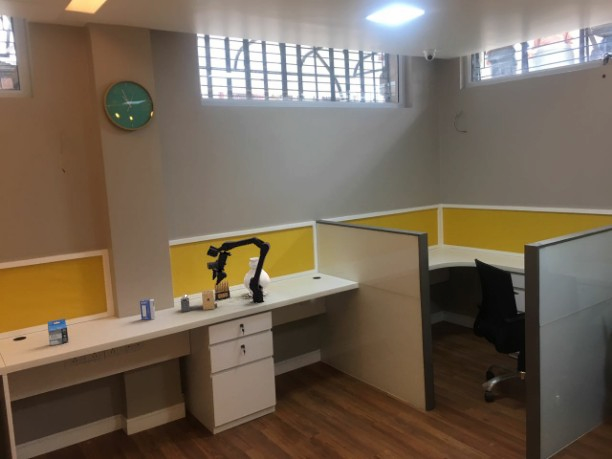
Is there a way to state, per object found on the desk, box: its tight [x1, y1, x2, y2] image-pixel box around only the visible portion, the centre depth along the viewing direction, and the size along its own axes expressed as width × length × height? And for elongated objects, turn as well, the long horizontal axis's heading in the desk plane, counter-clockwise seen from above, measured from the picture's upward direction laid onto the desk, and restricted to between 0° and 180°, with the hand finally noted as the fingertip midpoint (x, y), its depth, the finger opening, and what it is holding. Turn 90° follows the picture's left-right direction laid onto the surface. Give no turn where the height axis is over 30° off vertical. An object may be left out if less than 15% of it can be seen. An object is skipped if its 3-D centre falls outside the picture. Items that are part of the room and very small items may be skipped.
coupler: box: [180, 294, 218, 313], centre depth 335 cm, size 22×7×10 cm, turn 103°
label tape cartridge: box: [47, 318, 69, 347], centre depth 282 cm, size 9×4×12 cm, turn 121°
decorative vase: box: [243, 256, 271, 297], centre depth 364 cm, size 18×18×25 cm
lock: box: [201, 289, 216, 311], centre depth 336 cm, size 7×8×10 cm
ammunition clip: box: [214, 280, 231, 302], centre depth 357 cm, size 11×2×12 cm, turn 125°
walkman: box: [139, 298, 157, 321], centre depth 319 cm, size 8×3×12 cm, turn 91°
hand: (214, 282), depth 347 cm, fingers open, 9 cm apart
